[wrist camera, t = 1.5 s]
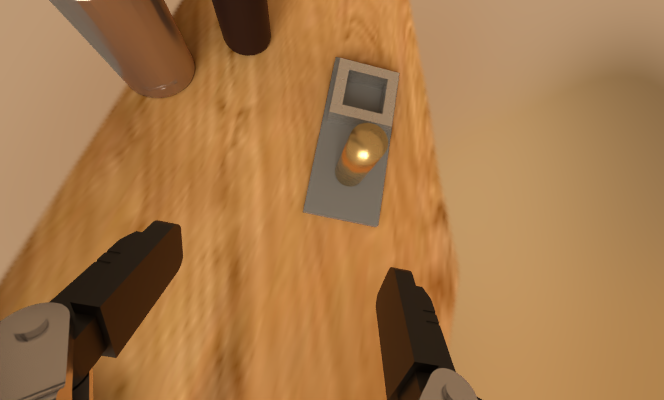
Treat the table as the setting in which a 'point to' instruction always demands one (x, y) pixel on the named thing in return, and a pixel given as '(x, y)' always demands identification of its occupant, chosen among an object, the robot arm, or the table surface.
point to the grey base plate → (323, 185)
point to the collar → (365, 77)
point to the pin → (361, 153)
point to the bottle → (244, 24)
